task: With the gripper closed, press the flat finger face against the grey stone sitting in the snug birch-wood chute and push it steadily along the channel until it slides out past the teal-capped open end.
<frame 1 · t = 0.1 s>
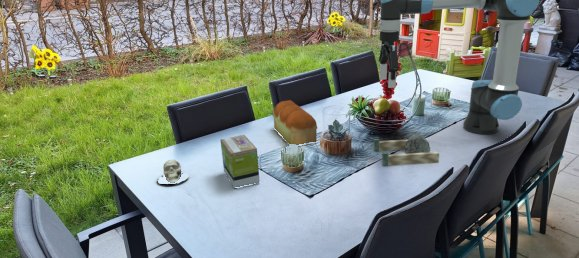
hand: (387, 83, 174), 28 cm above the table, fingers open, 13 cm apart
bread: (294, 137, 198), on the table
tea box: (241, 179, 160), on the table
stone: (416, 156, 173), on the table
chute: (404, 156, 173), on the table
skull: (173, 180, 162), on the table
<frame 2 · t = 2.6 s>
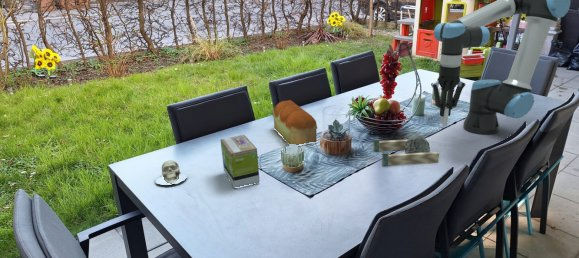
hand: (444, 123, 169), 13 cm above the table, fingers closed
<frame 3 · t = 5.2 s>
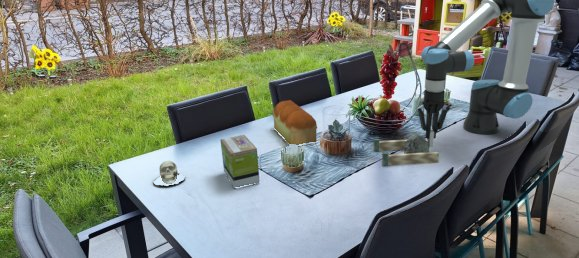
hand: (429, 145, 172), 4 cm above the table, fingers closed
stone: (415, 156, 173), on the table, touching gripper
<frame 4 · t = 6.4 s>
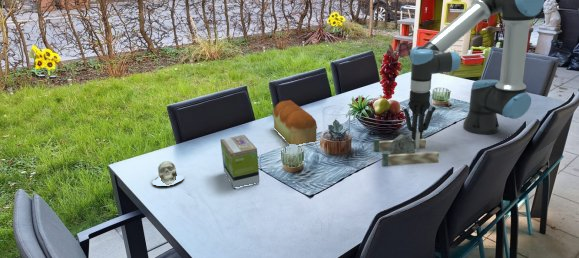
hand: (416, 146, 172), 4 cm above the table, fingers closed
stone: (402, 156, 173), on the table, touching gripper
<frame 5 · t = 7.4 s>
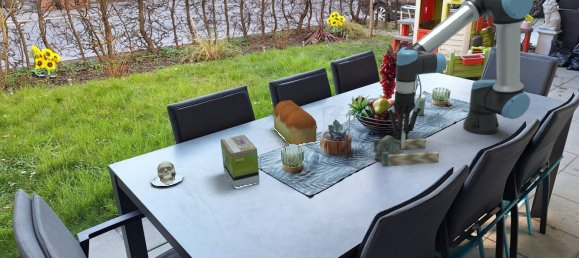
hand: (401, 147, 171), 4 cm above the table, fingers closed
stone: (388, 157, 173), on the table, touching gripper
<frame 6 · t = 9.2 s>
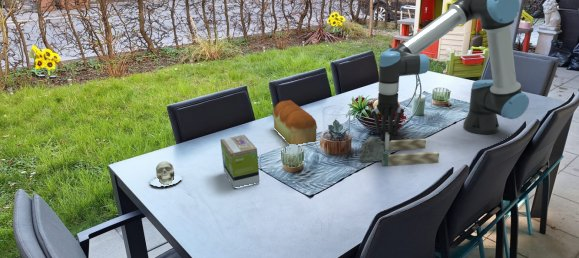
hand: (385, 148, 171), 4 cm above the table, fingers closed
stone: (372, 158, 172), on the table, touching gripper
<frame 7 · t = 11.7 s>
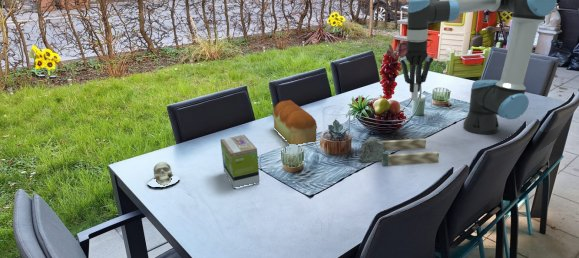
hand: (414, 99, 169), 23 cm above the table, fingers closed
stone: (372, 159, 172), on the table
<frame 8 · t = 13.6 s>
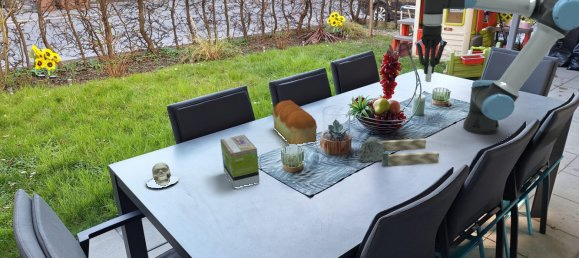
hand: (427, 81, 180), 26 cm above the table, fingers closed
at the end: stone inside the target area (13.0 cm from its centre), on the table; stone moved 18.3 cm from its start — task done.
